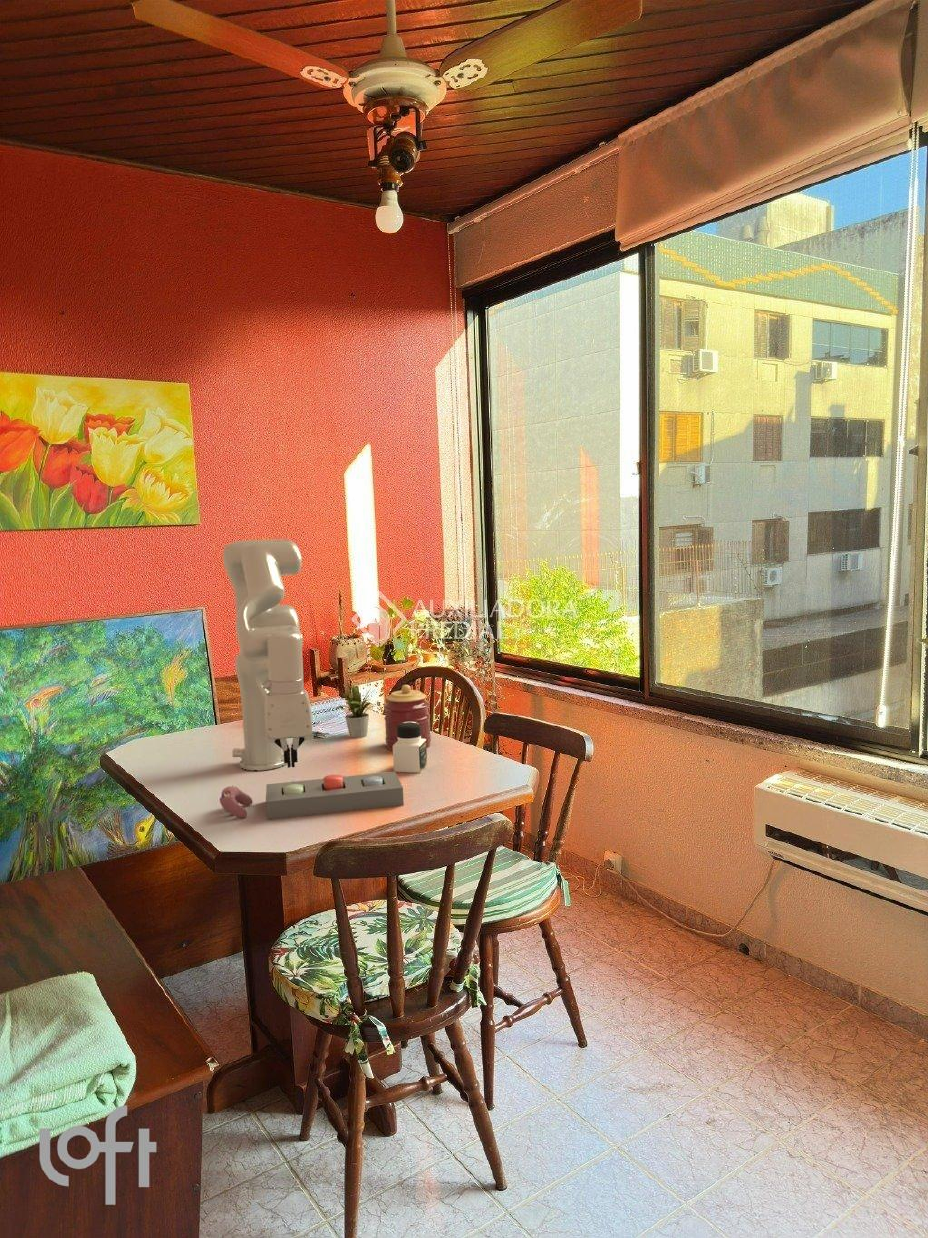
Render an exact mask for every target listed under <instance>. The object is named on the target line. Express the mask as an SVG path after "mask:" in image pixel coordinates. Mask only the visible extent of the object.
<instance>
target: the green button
mask: <svg viewBox="0 0 928 1238" xmlns="http://www.w3.org/2000/svg"><path fill="white" fill-rule="evenodd" d="M283 791H284V794H294V793H304V792H303V785H300V784H292V785H287V786H285V787H284V788H283Z"/></svg>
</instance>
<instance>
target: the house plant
mask: <svg viewBox="0 0 928 1238" xmlns="http://www.w3.org/2000/svg"><path fill="white" fill-rule="evenodd" d="M359 685H360V684H358V685H357V686H355V685H354V684H352V685H351V690H350V688H349V687H348V686H347V685H345V684H343V686H344V687H345V688H346V691H347V694H348V695H347V694H346V693H343V692H342V691H340V692H338V694H339V695H341V696H342V697H343V698H344V699H345V700H346V701H345V704H347V705H341V704H339V706H337V707H336V710H335V711H337V710H338V709H341V708H344V707H345V708H347V711H348V712H350V711H351V713H349V714H348V713H347V714H346V715H345V716H344V718H345V721H346V726H347V730H348V735H349V738H352V739H359V738H365V737H367V735H368V729H369V718H370V714H368V713H366V712H367V711H368V710H369V709H371V707H372V708H374V707H377V706H376V705H372V706H369V705H371V704H373V703H371V702H367V701H371V699H369V698H368V697H369V696H370V694H371V693H373V692H374V690H373V691H372V692H371V693H370V690H372V689H371V688H372V687H370V688H369V690H367V693H366V695H365V697H364V698H363V700H362V693H361V692H360V691H359ZM336 691H339V690H337V689H336ZM361 702H362V703H361ZM333 704H335V705H337V703H333ZM368 706H369V707H368ZM345 708H344V709H345ZM345 710H346V709H345Z"/></svg>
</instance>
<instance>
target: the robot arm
mask: <svg viewBox="0 0 928 1238" xmlns="http://www.w3.org/2000/svg"><path fill="white" fill-rule="evenodd" d="M222 560H223V565H224V569H225V572H226V574H227V577H228V579H229V581H230V584H231V586H232V588H233V589H232V590H233V591H234V597H235V610H236V611H235V612H236V618H235V631H236V636H237V641H238V646H239V647H238V649H239V651H240V652H239V653H238V654H237V655H236V657H235V661H234V662H235V663H234V667H235V672H236V676H237V680H238V681H237V682H238V687H239V691H240V700H241V703H240V704H241V713H242V728H243V731H242V732H243V743H244V744H243V745H244V748H239V747H238V748H233V749H232V757H233V758H241V760H240V761H239V767H240V769H242V768H243V769H242V770H245V769H246V771H254V770H257V771H267V770H273V768H274V769H277V768H282V767H283V766H286V764H287V769H289V768H295V767H296V765H295V763H298V759H299V758H298V749H299V747H301V745H302V744H304V742H306V741H310V740H313V739H314V737H315V736H314V732H313V719H312V710H311V709H312V708H311V702H310V696H309V693H308V691H307V690H306V689H305V685H304V684H305V683H304V681H305V680H304V661H303V647H304V637H303V634H302V632H301V628H300V619H299V615H298V612H297V611H296V609H295V608H294V606H291V605H289V604H280V603H281V602H282V601H283V600H284V598H285V597H286V589H285V585H284V582H283V578H282V576H294V575H298V574H299V573H300V572H301V570H302V567H303V566H302V565H303V558H302V553H301V551H300V548H299V546H298V545H297V544H296V543H295V542H294V541H292V540H290V539H283V538H280V539H279V538H277V539H275V538H274V539H249V540H239V541H232V542H230V543H228V544H226V545H225V546H224V548H223V550H222ZM287 739H292V744H291V745H290V746H289V744H288V742H287ZM282 752H283V754H282ZM282 765H283V766H282Z"/></svg>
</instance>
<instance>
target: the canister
mask: <svg viewBox="0 0 928 1238" xmlns="http://www.w3.org/2000/svg"><path fill="white" fill-rule="evenodd" d="M426 698H427V695H426V693H423V692H422V691H420V690H416V689H411V686H410V685H409V684H404V685H402V686H401V689H400V690H396V691H393V692H391V694H389V695H388V696H386V700H387V702H386V703H385V704H384V706H383V708H384V709H385V716H384V717H383V718H384V721H385V722H384V723H385V726H384V727H385V744H386V748H388V749H389V750H392V751H393V745H394V744H395V743H396V742H397V741H398V736H397V726H398V725H399V724H401V723H403V722H416V723H419V724H420V725H421V739H426V748H428V747H429V746H431V742H432V734H431V721H430V720H431V719H430V718H431V714H430V713H429V707H430V705H431V704H430V702H429V701H427V700H426Z"/></svg>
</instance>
